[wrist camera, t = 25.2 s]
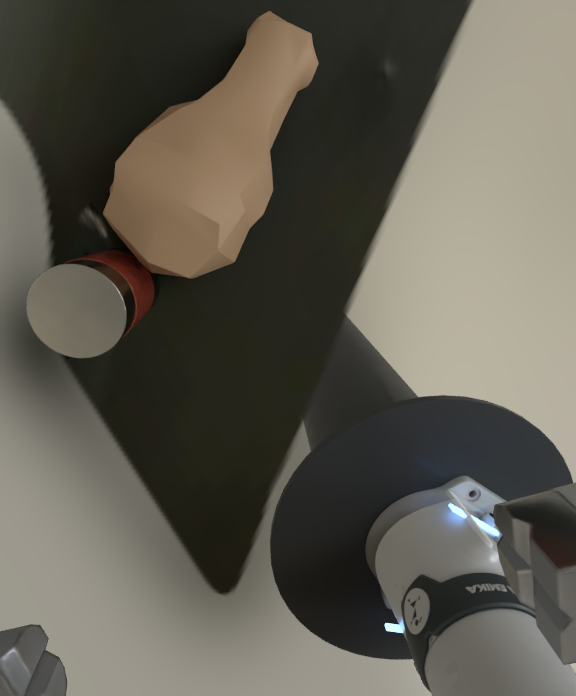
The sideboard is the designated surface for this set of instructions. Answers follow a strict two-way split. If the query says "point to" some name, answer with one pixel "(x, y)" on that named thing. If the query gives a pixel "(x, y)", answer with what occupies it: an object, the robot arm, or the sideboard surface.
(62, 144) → the sideboard surface
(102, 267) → the tin
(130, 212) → the squash
